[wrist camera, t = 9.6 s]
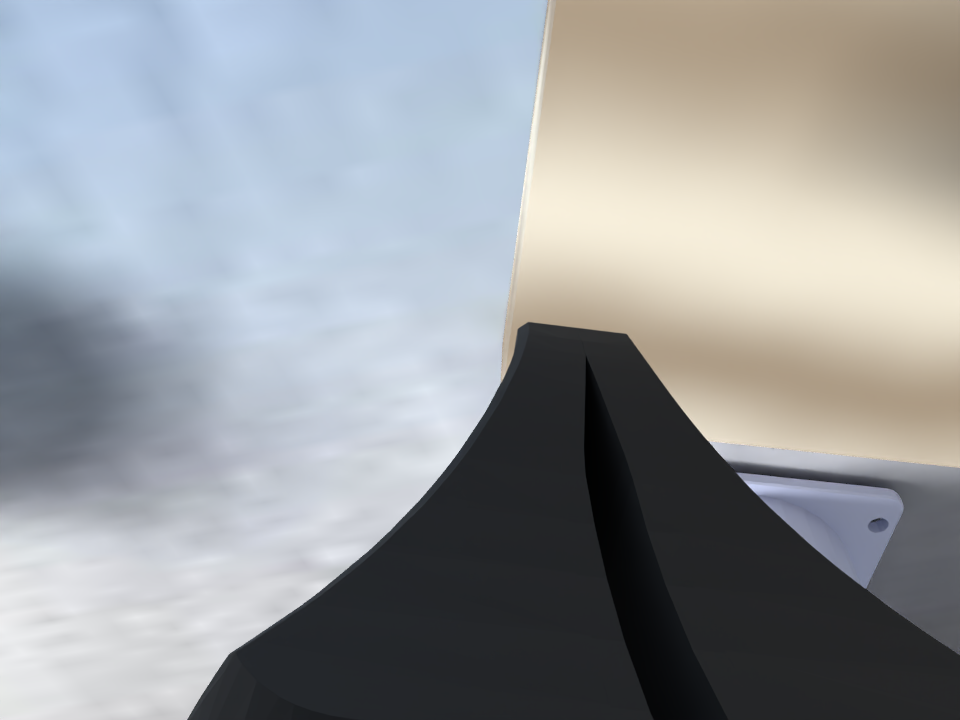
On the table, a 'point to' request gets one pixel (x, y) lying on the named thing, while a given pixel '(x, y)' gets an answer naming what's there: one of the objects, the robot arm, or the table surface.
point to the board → (757, 212)
